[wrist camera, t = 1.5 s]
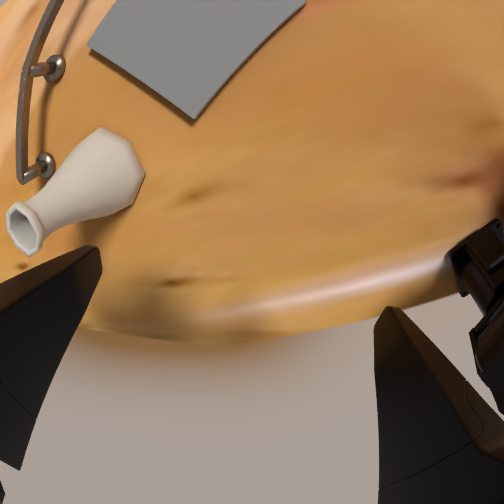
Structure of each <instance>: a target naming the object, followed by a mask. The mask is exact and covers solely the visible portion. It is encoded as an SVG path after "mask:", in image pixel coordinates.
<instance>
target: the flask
mask: <svg viewBox="0 0 504 504" xmlns="http://www.w3.org/2000/svg"><path fill="white" fill-rule="evenodd" d="M144 176H145V172H144V170H143V168H142V166H141V164H140V162H139V160H138V158H137V156H136V154H135V152H134V150H133V148H132V146H131V144H130V142H129V141H128V140H126V139H124V138H122V137H120V136H118V135H117V134H115V133H113V132H111V131H109V130H107V129H105V128H103V127H99V128H98V129H97V130H95V131H94V132H93V133H91V134H90V135H88V136H87V137H86V138H85V139H83V140H82V141H81V142H79V143H78V144H77V145H76V146H75V147H74V149H73V150H72V151H71V152H70V154H69V155H68V156H67V158H66V159H65V160H64V162H63V163H62V164H61V166H60V167H59V168H58V169H57V171H56V172H55V173H54V175H53V176H52V177H51V178H50V180H49V181H48V182H47V184H46V185H45V186H44V187H43V188H42V189H41V190H40V191H39V192H38V193H37V194H36V195H35V196H33V197H32V198H31V199H29V200H28V201H26V202H24V203H23V202H21V201H18V202H16V203H15V204H14V205H13V206H12V207H11V208H10V209H9V210H8V211H7V212H6V229H7V231H8V233H9V235H10V237H11V238H12V240H13V242H14V243H15V245H16V247H18V248H19V249H20V250H21V251H23V252H24V253H25V254H26V255H28V256H29V257H30V256H32V255H33V254H35V253H36V252H38V251H39V250H40V249H41V248H42V247H43V241H44V239H45V238H47V237H48V236H49V235H50V234H51V233H52V232H54V231H56V230H58V229H60V228H62V227H64V226H66V225H70V224H74V223H77V222H81V221H85V220H90V219H95V218H100V217H105V216H109V215H111V214H113V213H115V212H117V211H119V210H121V209H123V208H125V207H127V206H129V205H132V204H133V203H134V201H135V198H136V196H137V193H138V190H139V188H140V185H141V183H142V181H143V178H144Z"/></svg>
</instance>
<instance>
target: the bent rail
mask: <svg viewBox="0 0 504 504" xmlns="http://www.w3.org/2000/svg"><path fill="white" fill-rule="evenodd" d="M63 2H64V0H50V2H49V4H48V6H47V8H46V10H45V12H44V14H43V16H42V18H41V21H40V23H39V25H38V28H37V30H36V32H35V35H34V37H33V40H32V43H31V45H30V48H29V51H28V54H27V56H26V59H25V62H24V66H23V69H22V71H23V72H22V73H21V79H20V87H19V96H18V106H17V121H16V173H17V179H18V180H19V182H20V184H22V185H24V184H26V183H27V182H29V181H31V180H33V179H34V178H36V177H38V176H39V175H40V176H41V177H42V178H48V177H50V176H52V175H53V174H54V172H55V161H54V158H53V156H52V155H51V154H50V153H48V152H44V153H42V154H40V155H39V156H38V157H37V159H36V163H35V164H33V165H32V166H30V167H28V126H29V111H30V101H31V92H32V84H33V77H39V76H44V78H45V80H47V81H49V82H51V81H56V80H58V79H59V78H61V76H62V75H63V73H64V71H65V67H66V62H65V58H64V57H63V56H62V55H52V56H50V57H49V58H48V59H47V61H46V62H40V63H37V62H38V59H39V56H40V54H41V51H42V48H43V46H44V43H45V41H46V38H47V36H48V33H49V31H50V29H51V27H52V24H53V22H54V20H55V18H56V16H57V14H58V12H59V10H60V8H61V6H62V4H63Z"/></svg>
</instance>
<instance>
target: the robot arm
mask: <svg viewBox="0 0 504 504" xmlns="http://www.w3.org/2000/svg"><path fill="white" fill-rule="evenodd" d="M454 254H455V255H454ZM453 255H454V256H453ZM449 258H450V261H451V265H452V268H453V271H454V275H455V278H456V282H457V285H458V289H459V293H460V295H461V296H462V297H465V296H467V295H468V294H471V296H472V297H473V299H474V301H475V302H476V304H477V306H478V307H479V309H480V311H481V312H482V314H483V316H484V317H483V318H482V319H481V321H480V322H479V323H478V324H477V325H476V326H475V328H472V329H471V331H470V332H469V336H470V340H471V344H472V349H473V354H474V359H475V364H476V369H477V374H478V375H479V377H480V378H481V380H482V381H483V382H484V383H485V384H486V386H487V387H489V388H490V390H491V392H492V394H493V396H494V399H495V402H496V404H497V407H498V410H499V412H500V413H502V414H503V415H504V234H503V227H502V222H501V221H500V220H499V219H497V218H496V219H495V220H493V221H492V222H491V223H489V224H488V225H487V226H485V227H484V228H482V229H481V230H480V231H478V232H477V233H475V234H474V235H473V236H471V237H470V238H468V239H467V240H465V241H464V242H463V243H461V244H460V245H458V246H457V247H455V248H454V249H452V250H451V251H450V252H449ZM101 275H102V263H101V256H100V251H99V248H98V247H96V246H92V245H85V246H82V247H80V248H77V249H75V250H73V251H70V252H68V253H65V254H63V255H61V256H58V257H56V258H54V259H52V260H49V261H47V262H45V263H43V264H40V265H38V266H36V267H34V268H32V269H29V270H27V271H25V272H23V273H21V274H19V275H17V276H15V277H13V278H10V279H8V280H6V281H4V282H2V283H0V460H1V461H3V462H4V463H6V464H8V465H10V466H11V467H13V468H15V469H17V470H20V469H21V466H22V463H23V459H24V456H25V452H26V449H27V446H28V443H29V440H30V437H31V433H32V431H33V428H34V425H35V422H36V419H37V416H38V414H39V411H40V408H41V406H42V403H43V400H44V398H45V396H46V393H47V391H48V388H49V386H50V384H51V382H52V379H53V377H54V375H55V372H56V370H57V368H58V366H59V364H60V361H61V359H62V357H63V355H64V353H65V351H66V349H67V347H68V345H69V343H70V341H71V339H72V337H73V335H74V333H75V331H76V329H77V327H78V325H79V323H80V321H81V320H82V318H83V316H84V314H85V311H86V309H87V307H88V305H89V302H90V300H91V297H92V295H93V293H94V291H95V288H96V286H97V284H98V282H99V279H100V277H101ZM374 372H375V385H376V397H377V411H378V429H379V491H378V504H504V421H503V420H502V419H501V418H500V417H499V415H498V414H497V413H496V412H495V411H494V410H493V409H492V408H491V407H490V406H489V405H488V404H487V403H486V402H485V400H484V399H483V398H482V397H481V396H480V395H479V394H478V393H477V391H476V390H475V389H474V388H473V387H472V386H471V385H470V383H469V382H468V381H466V379H465V378H464V377H463V376H462V374H461V373H460V372H459V371H458V370H457V369H456V367H455V366H454V365H453V364H452V363H451V362H450V361H449V360H448V359H447V357H446V356H445V355H444V354H443V353H442V352H441V351H440V350H439V349H438V348H437V347H436V345H435V344H434V343H433V342H432V341H431V340H430V339H429V338H428V337H427V336H426V335H425V334H424V333H423V332H422V331H421V330H420V329H419V328H418V326H417V325H416V324H415V323H414V322H413V321H412V320H410V318H409V317H408V316H407V315H406V314H405V313H404V312H403V311H402V310H401V309H400V308H398V307H394V306H387V307H386V308H385V309H384V310H383V312H382V314H381V315H380V317H379V319H378V320H377V322H376V324H375V326H374ZM4 496H5V492H4V490H3V487H2V484H1V481H0V504H2V502H3V499H4Z"/></svg>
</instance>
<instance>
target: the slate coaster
mask: <svg viewBox="0 0 504 504" xmlns="http://www.w3.org/2000/svg"><path fill="white" fill-rule="evenodd" d="M305 4H307V0H117V1H116V2H115V3H114V5H113V6H112V7H111V9H110V10H109V11H108V13H107V14H106V16H105V17H104V18H103V20H102V21H101V23H100V24H99V26H98V27H97V29H96V30H95V32H94V34H93V35H92V37H91V38H90V40H89V42H88V43H87V46H88V47H90V48H91V49H93V50H95V51H96V52H98V53H99V54H101V55H103V56H104V57H106V58H107V59H109V60H110V61H112V62H114V63H115V64H117V65H118V66H120V67H121V68H123V69H124V70H126V71H127V72H129V73H130V74H132V75H133V76H135V77H136V78H137V79H139V80H140V81H142V82H143V83H145V84H146V85H148V86H149V87H150V88H152V89H153V90H155V91H156V92H158V93H159V94H160V95H162V96H163V97H164V98H166V99H167V100H169V101H170V102H171V103H173V104H174V105H175V106H177V107H178V108H180V109H181V110H182V111H184V112H185V113H186V114H188V115H189V116H190V117H192V118H193V119H195V118H197V117H198V116H199V115H200V114H201V112H202V111H203V110H204V109H205V107H206V106H207V105H208V104H209V102H210V101H211V100H212V99H213V98H214V96H215V95H216V94H217V93H218V92H219V91H220V89H221V88H222V87H223V86H224V85H225V84H226V82H227V81H228V80H229V79H230V78H231V77H232V76H233V75H234V73H235V72H236V71H237V70H238V69H239V68H240V67H241V66H242V65H243V64H244V63H245V62H246V60H247V59H248V58H249V57H250V56H251V55H252V54H253V53H254V52H255V51H256V50H257V49H258V48H259V47H260V46H261V45H262V44H263V43H264V42H265V41H266V40H267V39H268V38H269V37H270V36H271V35H272V34H273V33H274V32H275V31H276V30H277V29H278V28H280V27H281V26H282V25H283V24H284V23H285V22H286V21H287V20H288V19H289V18H290V17H292V16H293V15H294V14H295V13H296V12H297V11H298V10H299V9H301V8H302V7H303V6H304V5H305Z"/></svg>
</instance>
